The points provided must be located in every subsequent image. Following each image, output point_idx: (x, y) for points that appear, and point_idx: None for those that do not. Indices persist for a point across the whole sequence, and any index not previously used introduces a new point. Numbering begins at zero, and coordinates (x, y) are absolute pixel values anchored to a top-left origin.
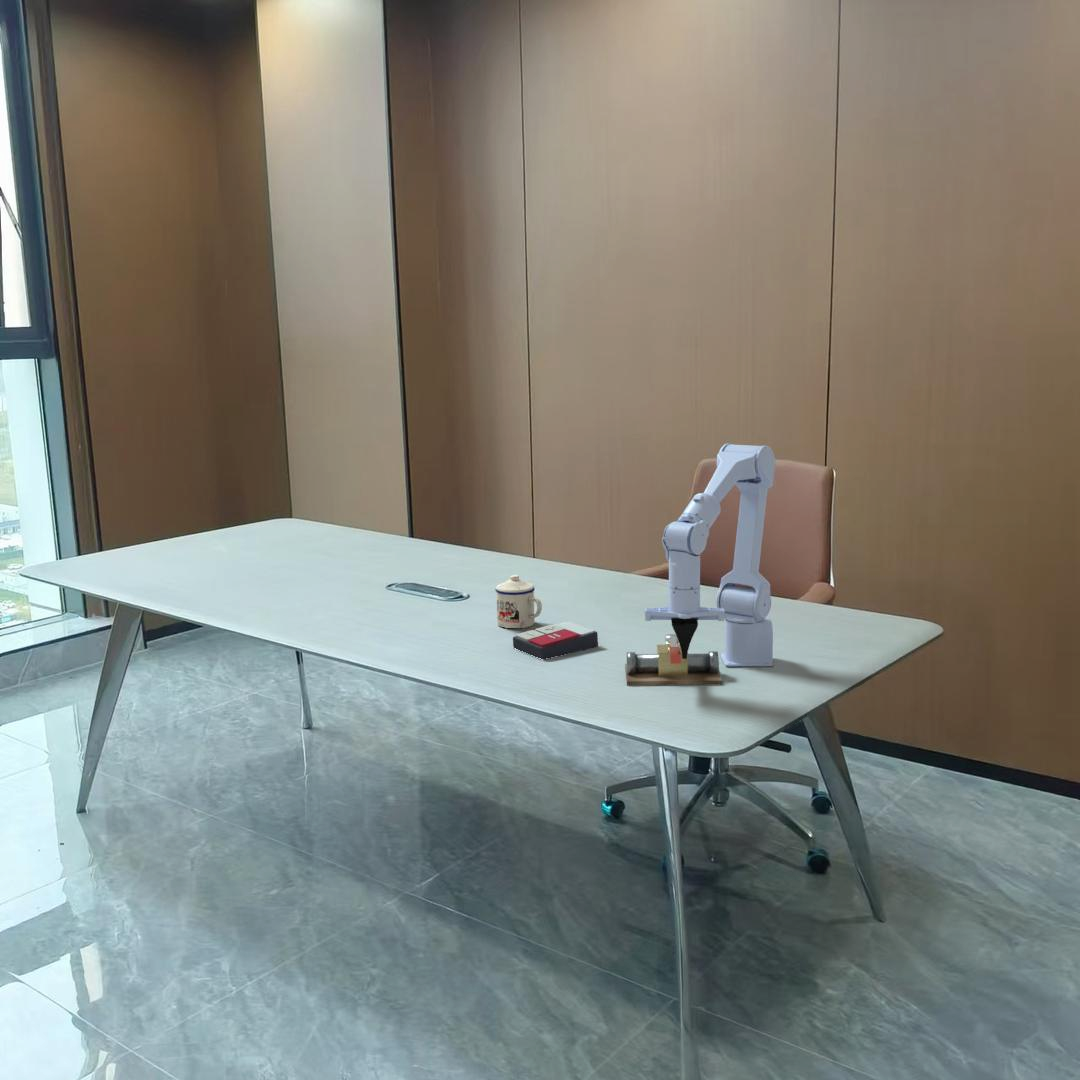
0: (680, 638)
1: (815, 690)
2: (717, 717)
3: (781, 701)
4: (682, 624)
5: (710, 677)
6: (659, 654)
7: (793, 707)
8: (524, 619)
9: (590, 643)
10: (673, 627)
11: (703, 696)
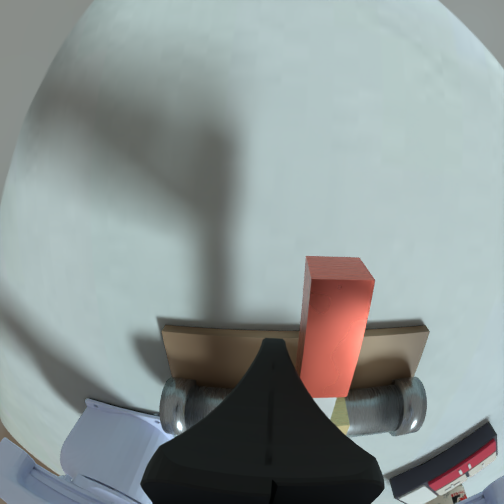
0: (302, 409)
1: (6, 266)
2: (191, 44)
3: (39, 194)
4: (287, 500)
5: (192, 356)
6: (345, 419)
7: (24, 156)
8: (445, 499)
9: (405, 479)
10: (377, 467)
11: (218, 229)
